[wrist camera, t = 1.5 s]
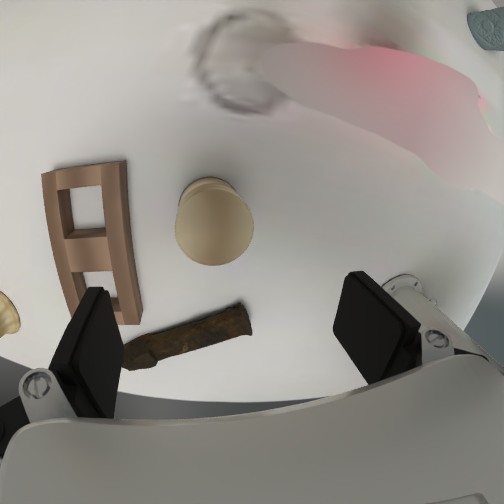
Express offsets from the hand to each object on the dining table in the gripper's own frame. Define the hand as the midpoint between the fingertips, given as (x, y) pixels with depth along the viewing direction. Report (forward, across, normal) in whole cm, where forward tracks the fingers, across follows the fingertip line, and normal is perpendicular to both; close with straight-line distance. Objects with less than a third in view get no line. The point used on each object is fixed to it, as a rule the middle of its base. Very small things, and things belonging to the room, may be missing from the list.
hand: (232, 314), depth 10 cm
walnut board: (+20, +13, +5) cm, 24 cm away
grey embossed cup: (+20, -49, -39) cm, 66 cm away
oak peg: (+20, 0, 0) cm, 20 cm away
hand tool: (+20, +4, +18) cm, 27 cm away
